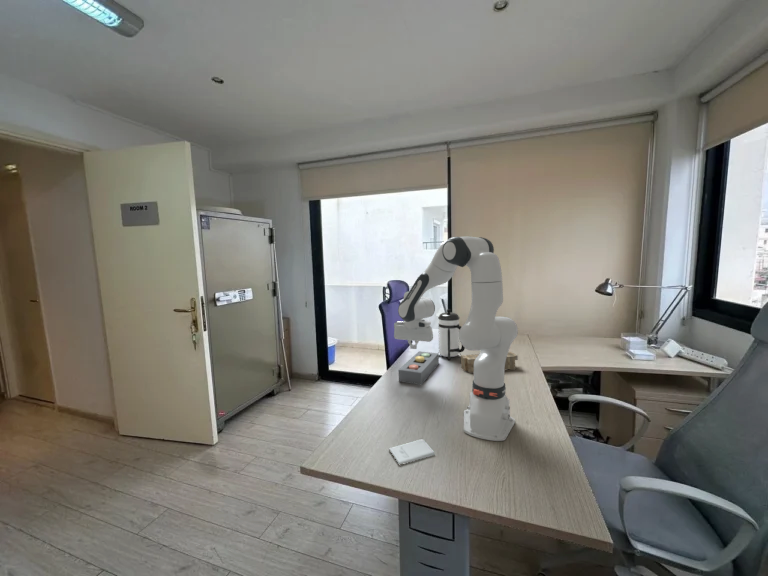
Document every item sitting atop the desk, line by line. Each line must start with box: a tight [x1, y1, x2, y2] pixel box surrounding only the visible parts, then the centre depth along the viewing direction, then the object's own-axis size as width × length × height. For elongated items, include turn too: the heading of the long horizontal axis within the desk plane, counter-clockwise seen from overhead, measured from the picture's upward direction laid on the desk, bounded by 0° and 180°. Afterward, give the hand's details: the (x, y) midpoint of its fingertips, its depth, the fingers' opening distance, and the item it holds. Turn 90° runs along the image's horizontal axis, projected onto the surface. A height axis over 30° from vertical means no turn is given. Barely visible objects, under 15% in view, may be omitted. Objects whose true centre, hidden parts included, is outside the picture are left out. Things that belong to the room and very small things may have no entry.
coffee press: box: [437, 308, 466, 361], centre depth 191 cm, size 17×16×30 cm
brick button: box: [409, 365, 419, 370], centre depth 160 cm, size 5×5×2 cm
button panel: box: [398, 350, 440, 385], centre depth 169 cm, size 32×12×6 cm, turn 155°
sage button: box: [421, 353, 430, 358], centre depth 178 cm, size 5×5×2 cm
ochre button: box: [415, 356, 424, 363], centre depth 169 cm, size 5×5×2 cm
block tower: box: [460, 351, 519, 374], centre depth 170 cm, size 8×8×29 cm
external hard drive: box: [388, 438, 436, 465], centre depth 100 cm, size 2×8×12 cm
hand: (413, 348), depth 159 cm, fingers closed
